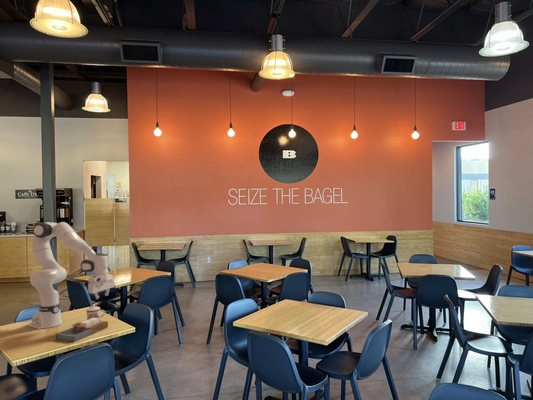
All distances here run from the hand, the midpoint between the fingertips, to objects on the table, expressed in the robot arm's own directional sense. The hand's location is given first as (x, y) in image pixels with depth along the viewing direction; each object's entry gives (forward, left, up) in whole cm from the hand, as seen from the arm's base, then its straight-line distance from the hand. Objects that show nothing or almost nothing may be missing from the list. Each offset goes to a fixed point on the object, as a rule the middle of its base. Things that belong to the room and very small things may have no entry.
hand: (102, 297), depth 255 cm
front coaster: (0, -14, -15) cm, 20 cm away
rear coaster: (0, -8, -15) cm, 17 cm away
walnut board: (0, -10, -19) cm, 22 cm away
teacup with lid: (-12, +5, -20) cm, 23 cm away
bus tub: (0, -24, -19) cm, 30 cm away
